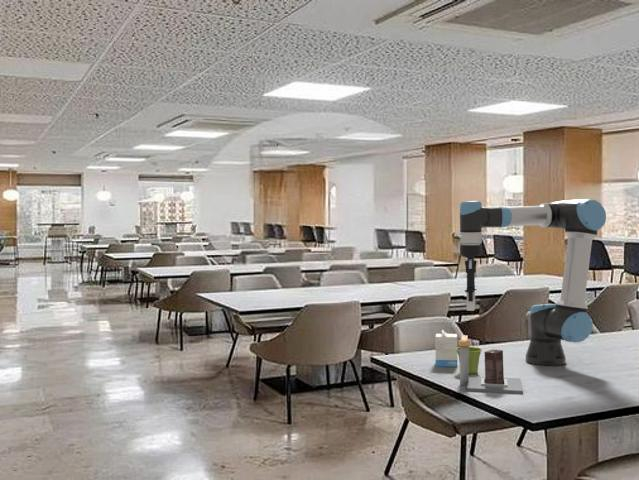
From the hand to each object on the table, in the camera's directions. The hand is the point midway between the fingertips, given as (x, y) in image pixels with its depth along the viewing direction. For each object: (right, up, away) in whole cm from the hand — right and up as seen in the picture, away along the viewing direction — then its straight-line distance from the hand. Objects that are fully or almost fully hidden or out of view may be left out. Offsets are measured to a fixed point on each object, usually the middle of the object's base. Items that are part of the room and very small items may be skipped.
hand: (470, 309), depth 244 cm
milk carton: (-4, -24, +24) cm, 35 cm away
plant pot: (+2, -25, +11) cm, 27 cm away
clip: (-3, -11, -4) cm, 12 cm away
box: (+6, -25, -11) cm, 28 cm away
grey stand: (+4, -25, -11) cm, 28 cm away
